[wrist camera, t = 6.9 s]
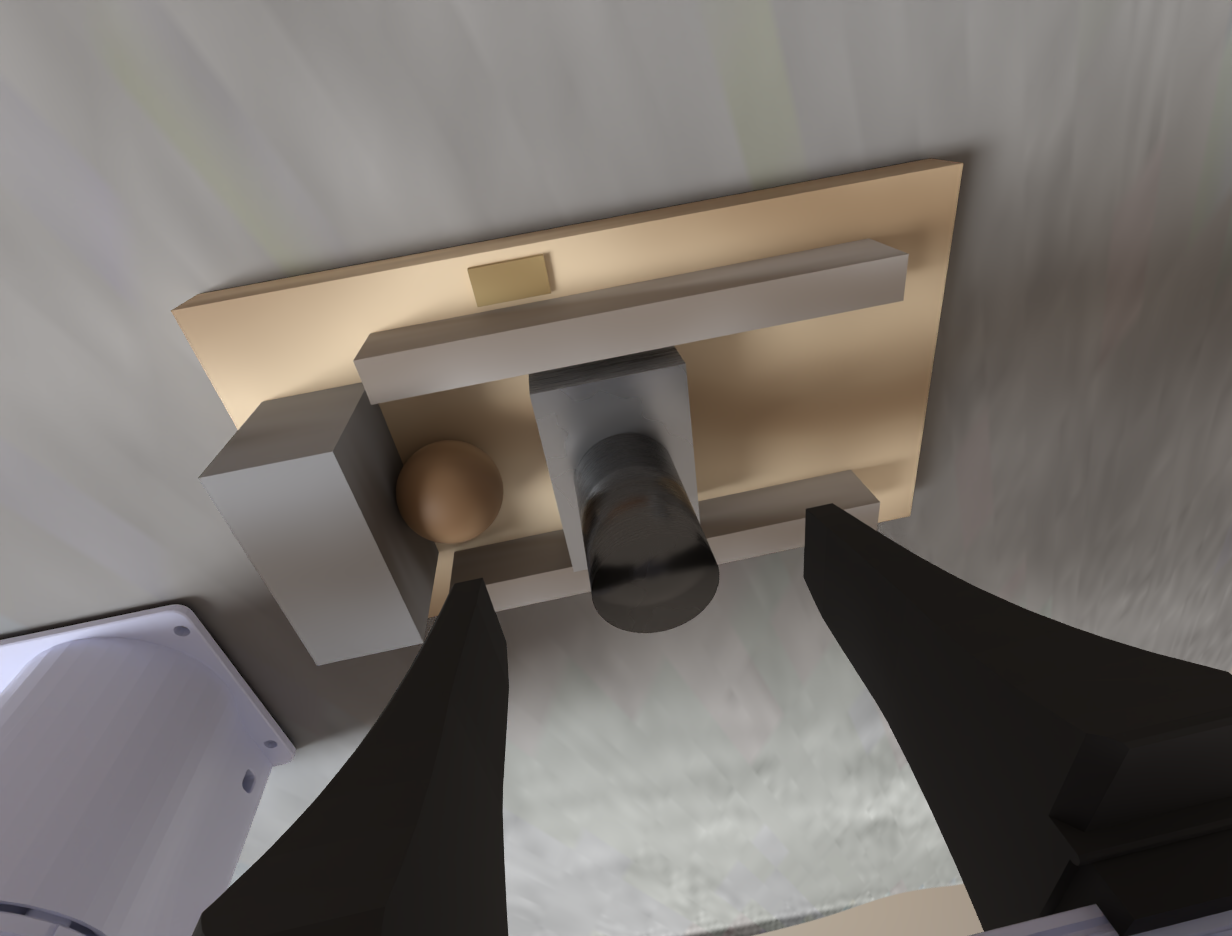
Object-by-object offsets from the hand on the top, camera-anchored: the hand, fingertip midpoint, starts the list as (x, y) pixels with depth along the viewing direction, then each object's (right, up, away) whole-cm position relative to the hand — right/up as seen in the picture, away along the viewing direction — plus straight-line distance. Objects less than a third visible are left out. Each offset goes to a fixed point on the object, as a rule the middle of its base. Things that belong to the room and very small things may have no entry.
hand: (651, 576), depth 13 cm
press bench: (-1, +4, +7) cm, 8 cm away
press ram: (-1, +3, +5) cm, 6 cm away
